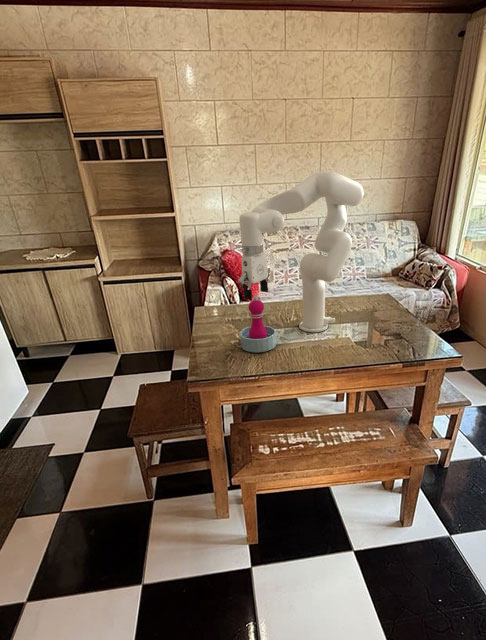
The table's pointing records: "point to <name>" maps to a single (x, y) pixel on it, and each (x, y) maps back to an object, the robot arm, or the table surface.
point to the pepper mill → (257, 320)
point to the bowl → (258, 341)
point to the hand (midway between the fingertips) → (256, 295)
